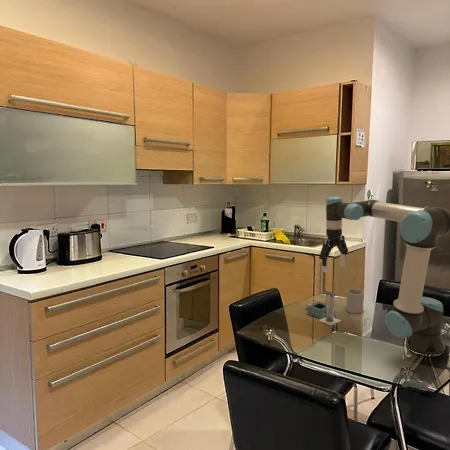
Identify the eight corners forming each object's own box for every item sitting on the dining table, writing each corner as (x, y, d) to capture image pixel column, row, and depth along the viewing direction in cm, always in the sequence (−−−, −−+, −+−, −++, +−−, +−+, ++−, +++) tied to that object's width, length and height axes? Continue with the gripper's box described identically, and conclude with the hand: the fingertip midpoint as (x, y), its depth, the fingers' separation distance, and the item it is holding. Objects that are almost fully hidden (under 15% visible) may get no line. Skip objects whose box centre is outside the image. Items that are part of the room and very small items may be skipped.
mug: (365, 312, 219) (366, 293, 217) (351, 314, 218) (351, 295, 215) (354, 304, 231) (354, 285, 229) (340, 306, 229) (340, 287, 227)
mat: (340, 321, 210) (340, 320, 210) (330, 325, 206) (330, 325, 206) (328, 316, 217) (328, 315, 217) (318, 320, 212) (318, 319, 212)
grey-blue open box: (332, 314, 219) (332, 306, 218) (321, 319, 214) (321, 311, 213) (312, 306, 230) (312, 298, 230) (300, 311, 225) (300, 303, 224)
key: (327, 317, 215) (327, 289, 212) (337, 320, 210) (337, 292, 207) (322, 319, 213) (322, 291, 209) (332, 323, 207) (332, 294, 204)
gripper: (343, 223, 212) (342, 262, 216) (311, 231, 197) (311, 273, 201) (355, 225, 206) (355, 265, 210) (324, 233, 191) (324, 276, 195)
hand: (333, 269), depth 206 cm, fingers open, 13 cm apart
